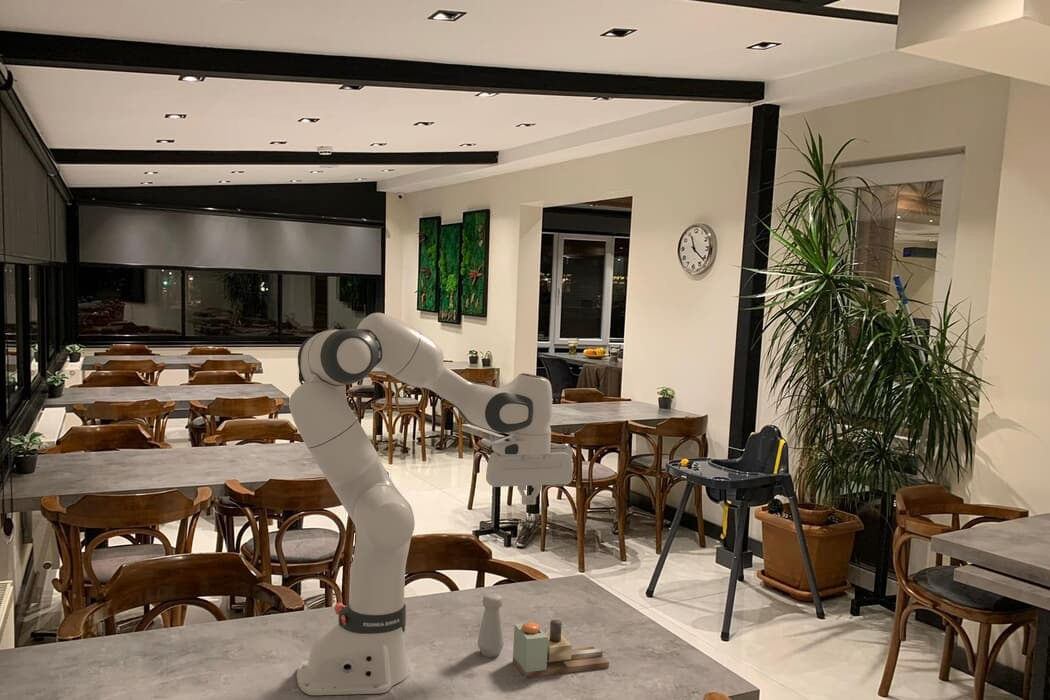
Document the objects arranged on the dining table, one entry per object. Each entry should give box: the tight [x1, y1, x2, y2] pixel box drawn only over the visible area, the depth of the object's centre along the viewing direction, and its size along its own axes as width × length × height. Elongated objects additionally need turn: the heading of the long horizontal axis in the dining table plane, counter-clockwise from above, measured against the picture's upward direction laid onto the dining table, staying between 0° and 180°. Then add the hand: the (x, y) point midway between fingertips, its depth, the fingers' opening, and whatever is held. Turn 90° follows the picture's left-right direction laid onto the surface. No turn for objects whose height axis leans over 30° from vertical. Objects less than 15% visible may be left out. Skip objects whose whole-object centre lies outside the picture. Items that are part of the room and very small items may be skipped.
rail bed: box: [512, 646, 610, 679], centre depth 176 cm, size 19×8×2 cm, turn 110°
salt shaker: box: [477, 593, 505, 658], centre depth 179 cm, size 6×6×13 cm
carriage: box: [546, 619, 573, 662], centre depth 175 cm, size 5×6×7 cm
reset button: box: [522, 622, 541, 634], centre depth 173 cm, size 4×4×5 cm
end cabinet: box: [512, 621, 548, 672], centre depth 173 cm, size 5×8×7 cm, turn 20°
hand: (528, 504), depth 188 cm, fingers closed
